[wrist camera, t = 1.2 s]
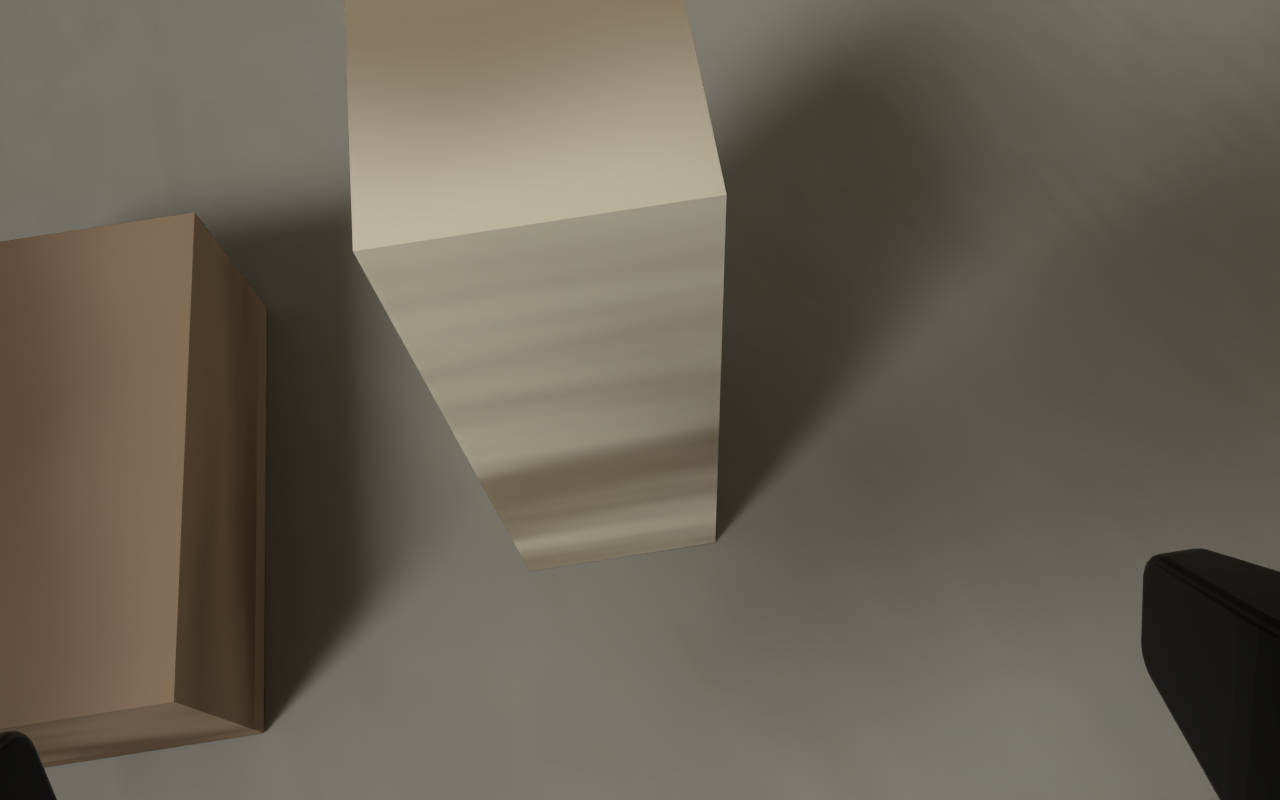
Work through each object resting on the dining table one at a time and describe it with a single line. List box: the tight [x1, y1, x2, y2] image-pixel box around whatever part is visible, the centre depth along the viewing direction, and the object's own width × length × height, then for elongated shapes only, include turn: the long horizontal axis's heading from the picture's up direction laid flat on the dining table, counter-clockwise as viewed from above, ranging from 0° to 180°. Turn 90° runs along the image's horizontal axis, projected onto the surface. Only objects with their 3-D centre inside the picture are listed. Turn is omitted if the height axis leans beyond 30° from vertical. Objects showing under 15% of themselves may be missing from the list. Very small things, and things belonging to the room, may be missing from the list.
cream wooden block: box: [344, 0, 727, 571], centre depth 18 cm, size 5×4×12 cm
